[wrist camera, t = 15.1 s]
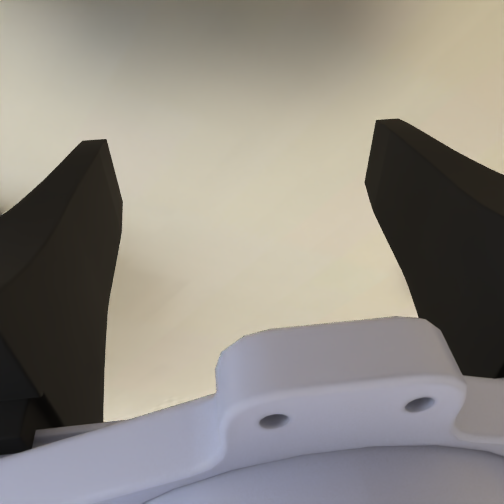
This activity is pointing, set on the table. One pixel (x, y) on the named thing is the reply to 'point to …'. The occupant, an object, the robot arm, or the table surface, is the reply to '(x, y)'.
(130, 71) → the table surface
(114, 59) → the table surface
